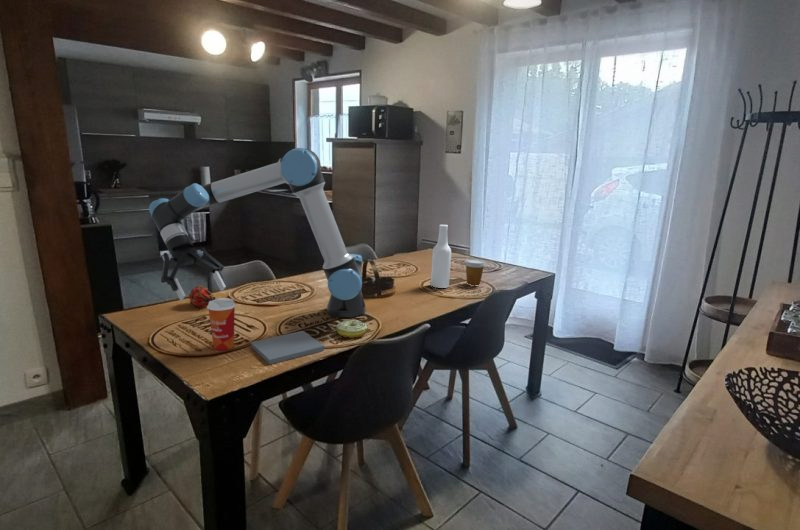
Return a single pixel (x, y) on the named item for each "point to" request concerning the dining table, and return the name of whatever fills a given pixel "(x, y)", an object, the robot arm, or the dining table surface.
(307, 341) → the slate board
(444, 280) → the alcohol
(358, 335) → the decorated donut
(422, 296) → the dining table surface
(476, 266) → the disposable coffee cup
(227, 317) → the coffee cup
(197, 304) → the dragon fruit
